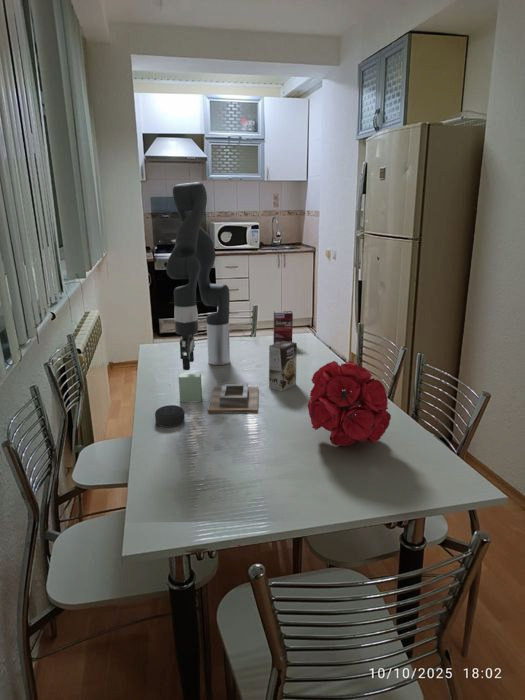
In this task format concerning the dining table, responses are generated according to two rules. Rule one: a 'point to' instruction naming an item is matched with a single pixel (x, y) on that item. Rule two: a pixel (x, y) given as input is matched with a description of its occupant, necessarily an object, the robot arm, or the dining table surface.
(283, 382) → the coffee box
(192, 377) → the keyed block
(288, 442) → the dining table surface
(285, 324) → the supplement box
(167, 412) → the smart speaker
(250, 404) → the keyed holder
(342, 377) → the bouquet
